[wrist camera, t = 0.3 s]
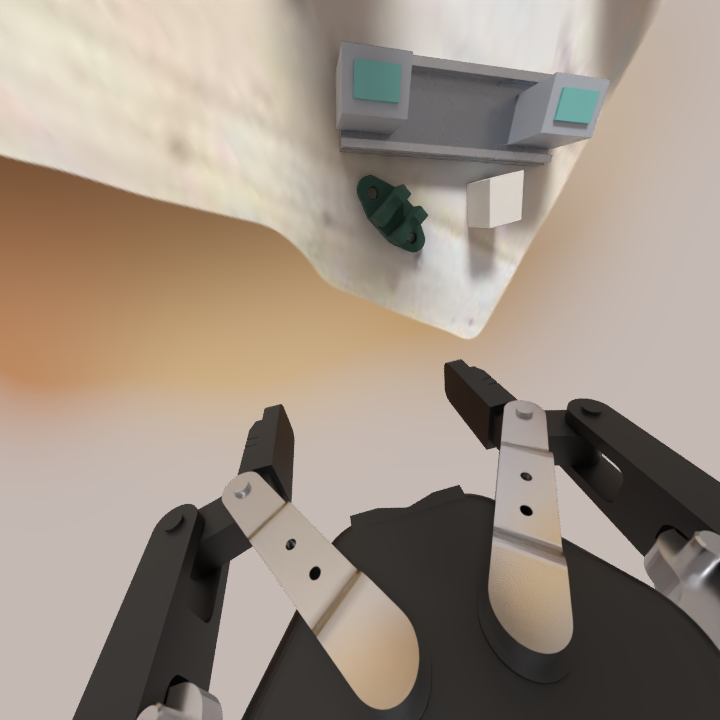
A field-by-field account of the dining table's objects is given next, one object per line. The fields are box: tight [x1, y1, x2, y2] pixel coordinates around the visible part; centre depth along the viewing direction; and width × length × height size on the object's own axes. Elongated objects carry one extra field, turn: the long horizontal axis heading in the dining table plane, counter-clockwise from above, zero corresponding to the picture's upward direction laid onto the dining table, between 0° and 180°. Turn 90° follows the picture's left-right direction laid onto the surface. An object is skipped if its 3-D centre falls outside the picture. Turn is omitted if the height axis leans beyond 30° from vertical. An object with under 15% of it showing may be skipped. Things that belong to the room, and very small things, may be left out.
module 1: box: [336, 41, 413, 135], centre depth 25 cm, size 4×6×6 cm
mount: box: [357, 175, 428, 252], centre depth 32 cm, size 11×4×5 cm, turn 48°
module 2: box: [507, 72, 610, 149], centre depth 29 cm, size 4×6×6 cm
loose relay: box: [467, 170, 524, 228], centre depth 33 cm, size 5×4×5 cm
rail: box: [340, 55, 552, 166], centre depth 30 cm, size 8×25×2 cm, turn 89°
